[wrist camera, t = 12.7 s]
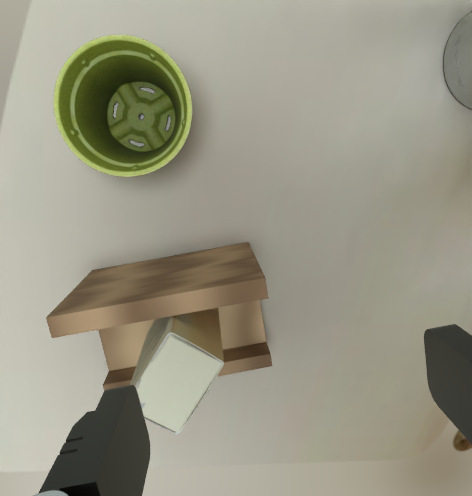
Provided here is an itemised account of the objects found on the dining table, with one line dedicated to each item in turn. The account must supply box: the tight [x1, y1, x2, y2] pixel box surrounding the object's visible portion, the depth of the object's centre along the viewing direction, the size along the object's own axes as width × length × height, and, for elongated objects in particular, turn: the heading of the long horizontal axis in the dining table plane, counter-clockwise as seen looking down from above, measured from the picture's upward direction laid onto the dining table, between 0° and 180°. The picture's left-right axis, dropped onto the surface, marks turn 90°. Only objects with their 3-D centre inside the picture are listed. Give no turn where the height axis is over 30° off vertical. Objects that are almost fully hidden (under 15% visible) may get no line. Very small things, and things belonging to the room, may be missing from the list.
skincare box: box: [130, 308, 224, 434], centre depth 34 cm, size 6×4×12 cm
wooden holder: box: [46, 243, 272, 391], centre depth 36 cm, size 15×10×12 cm
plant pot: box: [54, 35, 192, 177], centre depth 34 cm, size 9×9×9 cm
